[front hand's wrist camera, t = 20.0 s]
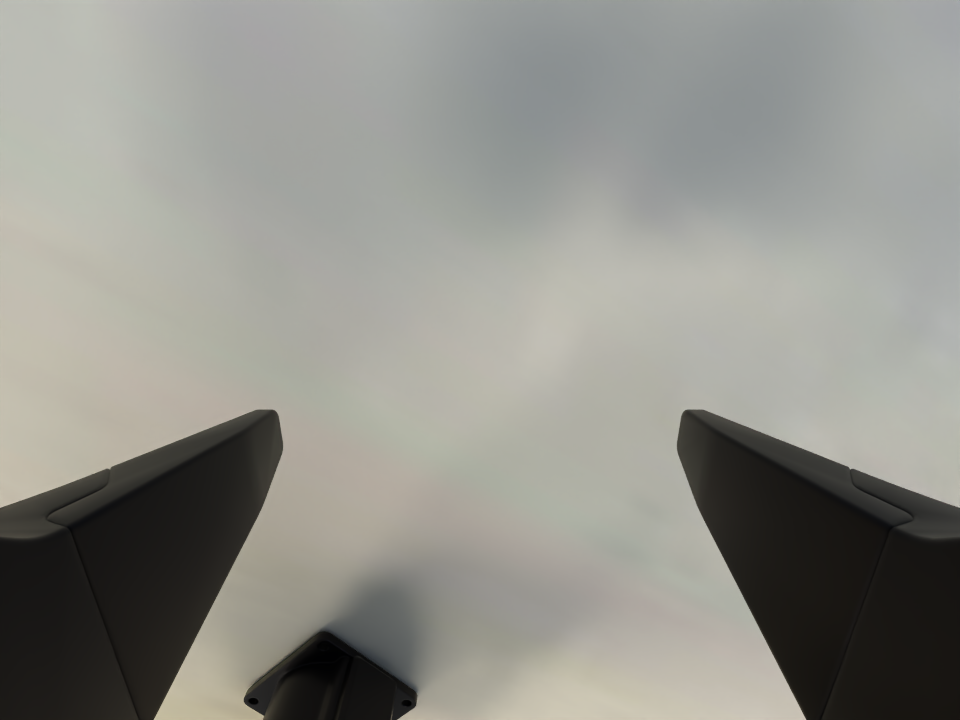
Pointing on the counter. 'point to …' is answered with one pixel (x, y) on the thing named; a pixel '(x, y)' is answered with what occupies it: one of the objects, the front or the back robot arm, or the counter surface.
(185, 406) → the counter surface
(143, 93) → the counter surface
